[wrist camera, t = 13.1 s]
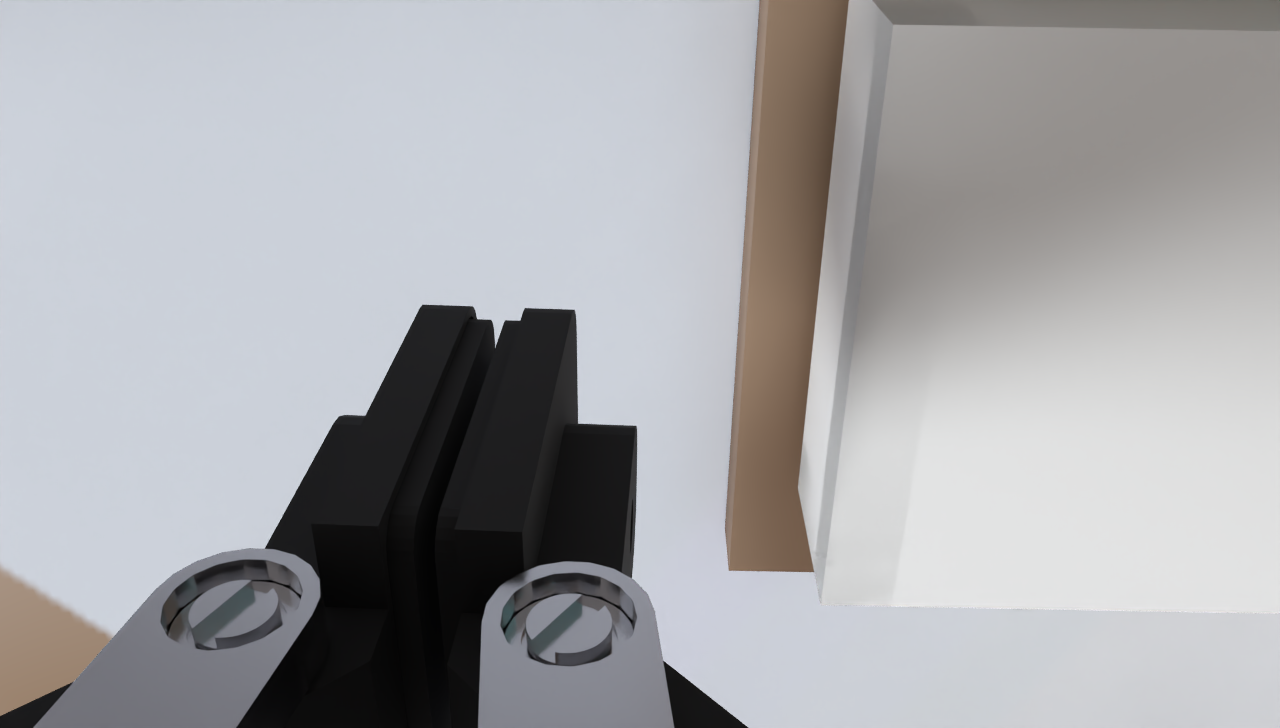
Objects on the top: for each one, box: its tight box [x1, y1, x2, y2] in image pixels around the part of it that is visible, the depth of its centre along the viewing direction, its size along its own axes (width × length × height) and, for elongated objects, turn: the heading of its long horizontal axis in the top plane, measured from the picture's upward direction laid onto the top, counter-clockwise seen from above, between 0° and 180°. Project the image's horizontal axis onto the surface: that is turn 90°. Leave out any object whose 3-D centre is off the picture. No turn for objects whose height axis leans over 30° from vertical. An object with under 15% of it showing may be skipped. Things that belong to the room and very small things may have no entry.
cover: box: [798, 0, 1280, 614], centre depth 15 cm, size 8×8×3 cm
